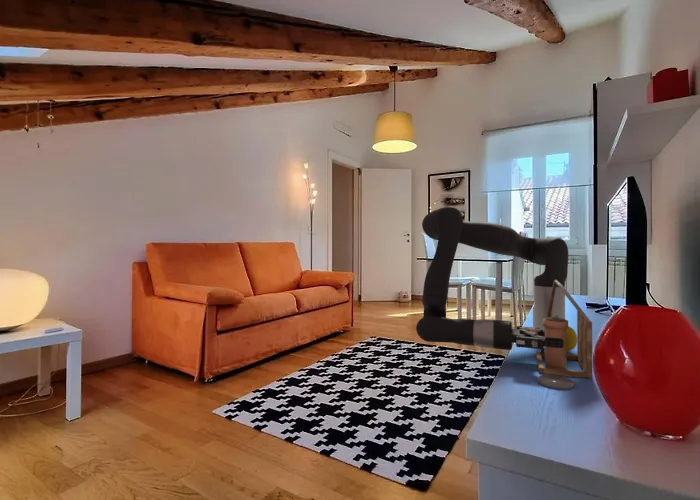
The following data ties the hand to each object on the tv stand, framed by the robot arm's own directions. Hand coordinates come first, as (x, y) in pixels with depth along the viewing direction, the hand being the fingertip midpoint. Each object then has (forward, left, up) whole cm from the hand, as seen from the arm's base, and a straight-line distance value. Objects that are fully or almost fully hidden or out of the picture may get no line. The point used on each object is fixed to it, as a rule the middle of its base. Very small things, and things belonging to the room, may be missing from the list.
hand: (561, 339), depth 95 cm
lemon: (-13, +11, -7) cm, 18 cm away
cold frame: (-2, +1, -7) cm, 7 cm away
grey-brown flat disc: (+10, -8, -7) cm, 15 cm away
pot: (-1, -1, -7) cm, 7 cm away
